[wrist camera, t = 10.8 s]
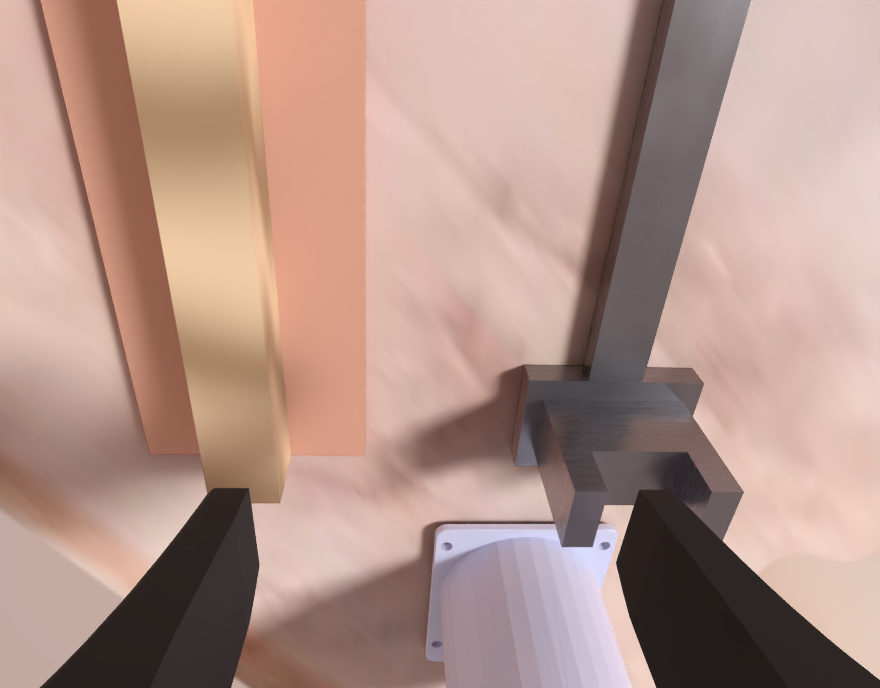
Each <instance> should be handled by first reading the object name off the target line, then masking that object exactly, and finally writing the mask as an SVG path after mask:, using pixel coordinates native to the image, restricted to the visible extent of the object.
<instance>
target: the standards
mask: <svg viewBox="0 0 880 688" xmlns="http://www.w3.org/2000/svg"><path fill="white" fill-rule="evenodd" d="M750 1H751V0H663V5H662V9H661V14H660V18H659V23H658V28H657V32H656V37H655V41H654V46H653V50H652V55H651V59H650V64H649V69H648V73H647V78H646V82H645V87H644V91H643V96H642V100H641V105H640V110H639V114H638V119H637V123H636V128H635V132H634V137H633V141H632V146H631V151H630V155H629V160H628V164H627V169H626V173H625V178H624V182H623V187H622V192H621V196H620V201H619V205H618V210H617V214H616V219H615V223H614V228H613V233H612V237H611V242H610V246H609V251H608V255H607V260H606V264H605V269H604V274H603V278H602V283H601V287H600V292H599V296H598V301H597V305H596V310H595V315H594V319H593V324H592V328H591V333H590V337H589V342H588V346H587V351H586V355H585V360H584V365H583V366H553V365H524V371H523V378H522V384H521V390H520V396H519V403H518V409H517V415H516V421H515V428H514V434H513V440H512V446H511V450H512V454H513V459H514V463H515V466H538V468H539V471H540V474H541V478H542V481H543V485H544V488H545V492H546V495H547V499H548V502H549V506H550V509H551V513H552V516H553V519H554V523H555V526H556V530H557V533H558V537H559V540H560V544H561V547H593V544H594V540H595V537H596V533H597V530H598V526H599V522H600V519H601V515H602V512H603V508H604V505H635V501H636V498H637V495H638V492H639V490H671V491H672V492H673V493H674V494H676V495H677V496H678V497H679V498H680V499H681V500H682V501H683V502H684V503H685V504H686V505H687V506H688V507H689V508H690V509H691V510H692V511H693V512H694V513H695V514H696V515H697V516H698V517H699V518H700V519H701V520H702V521H703V522H704V523H705V524H706V525H707V526H708V527H709V528H710V529H711V530H712V531H713V532H714V533H715V534H716V535H717V536H718V537H719V538H720V539H721V540H722V541H723V538H724V536H725V534H726V532H727V529H728V527H729V525H730V522H731V520H732V518H733V516H734V513H735V511H736V509H737V506H738V504H739V502H740V500H741V497H742V495H743V493H744V492H743V490H742V489H741V487H740V486H739V484H738V483H737V481H736V480H735V478H734V477H733V475H732V474H731V473H730V471H729V470H728V468H727V467H726V465H725V464H724V462H723V461H722V459H721V458H720V456H719V455H718V453H717V452H716V450H715V449H714V447H713V446H712V445H711V443H710V442H709V440H708V439H707V437H706V436H705V434H704V433H703V431H702V430H701V428H700V427H699V425H698V424H697V422H696V421H695V420H694V418H693V414H694V411H695V408H696V405H697V402H698V400H699V397H700V394H701V391H702V388H703V385H704V383H703V382H702V380H701V379H700V378H699V376H698V375H697V374H696V372H695V371H694V370H693V369H692V368H648V367H647V364H648V360H649V357H650V353H651V350H652V346H653V343H654V339H655V336H656V332H657V329H658V325H659V322H660V318H661V315H662V311H663V308H664V304H665V301H666V297H667V293H668V290H669V286H670V283H671V279H672V276H673V272H674V269H675V265H676V262H677V258H678V255H679V251H680V248H681V244H682V241H683V237H684V234H685V230H686V227H687V223H688V220H689V216H690V213H691V209H692V205H693V202H694V198H695V195H696V191H697V188H698V184H699V181H700V177H701V174H702V170H703V167H704V163H705V160H706V156H707V153H708V149H709V146H710V142H711V139H712V135H713V132H714V128H715V125H716V121H717V117H718V114H719V110H720V107H721V103H722V100H723V96H724V93H725V89H726V86H727V82H728V79H729V75H730V72H731V68H732V65H733V61H734V58H735V54H736V51H737V47H738V44H739V40H740V37H741V33H742V29H743V26H744V22H745V19H746V15H747V12H748V8H749V5H750Z"/></svg>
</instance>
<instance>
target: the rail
mask: <svg viewBox="0 0 880 688" xmlns="http://www.w3.org/2000/svg"><path fill="white" fill-rule="evenodd" d="M117 5H118V10H119V16H120V21H121V26H122V32H123V37H124V43H125V48H126V54H127V59H128V65H129V70H130V75H131V81H132V86H133V92H134V97H135V103H136V108H137V113H138V119H139V124H140V130H141V135H142V141H143V146H144V151H145V157H146V162H147V168H148V173H149V179H150V184H151V190H152V195H153V200H154V206H155V211H156V217H157V222H158V228H159V233H160V238H161V244H162V249H163V255H164V260H165V266H166V271H167V277H168V282H169V287H170V293H171V298H172V304H173V309H174V315H175V320H176V325H177V331H178V336H179V342H180V347H181V353H182V358H183V364H184V369H185V374H186V380H187V385H188V391H189V396H190V402H191V407H192V412H193V418H194V423H195V429H196V434H197V440H198V445H199V451H200V456H201V461H202V467H203V472H204V478H205V483H206V489H207V494H208V493H209V492H210V491H211V490H212V489H214V488H249V492H250V499H251V503H280V502H281V497H282V493H283V488H284V484H285V480H286V475H287V471H288V467H289V462H290V458H291V454H290V442H289V430H288V418H287V406H286V394H285V382H284V370H283V358H282V346H281V334H280V322H279V310H278V298H277V286H276V274H275V262H274V250H273V238H272V226H271V214H270V202H269V190H268V178H267V166H266V155H265V143H264V131H263V119H262V107H261V95H260V83H259V71H258V59H257V47H256V35H255V23H254V11H253V0H117Z"/></svg>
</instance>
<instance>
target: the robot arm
mask: <svg viewBox="0 0 880 688" xmlns="http://www.w3.org/2000/svg"><path fill="white" fill-rule="evenodd" d="M617 538H618V534H617V531H616V529H615V527H614V526H613V525H611V524H599V526H598V530H597V533H596V537H595V540H594V544H593V547H561V544H560V540H559V537H558V533H557V530H556V526H555V524H444V525H441V526H439V527H438V528H437V529H436V531H435V540H434V552H433V564H432V576H431V588H430V600H429V612H428V624H427V636H426V648H425V655H426V658H427V659H428V660H429V661H432V662H444V666H445V681H446V688H632V685H631V682H630V679H629V676H628V673H627V670H626V667H625V664H624V661H623V658H622V655H621V652H620V649H619V646H618V643H617V640H616V637H615V634H614V631H613V628H612V625H611V622H610V619H609V616H608V613H607V610H606V607H605V604H604V600H603V597H602V594H601V590H602V586H603V583H604V580H605V577H606V573H607V570H608V567H609V564H610V560H611V557H612V554H613V551H614V547H615V544H616V541H617ZM446 542H448V543H446ZM602 542H603V543H602ZM445 543H446V544H445ZM616 565H617V569H618V573H619V577H620V581H621V586H622V590H623V594H624V598H625V601H626V605H627V609H628V613H629V616H630V619H631V622H632V625H633V627H634V630H635V633H636V635H637V638H638V641H639V643H640V646H641V649H642V651H643V654H644V656H645V659H646V662H647V664H648V667H649V669H650V672H651V675H652V677H653V680H654V682H655V685H656V688H880V680H879V679H877V678H876V677H875V676H873V674H871V673H870V672H869V671H868V670H866V669H865V668H864V667H862V666H861V665H860V664H859V663H857V662H856V661H855V660H853V659H852V658H851V657H849V656H848V655H847V654H846V653H845V652H843V651H842V650H841V649H840V648H839V647H837V646H836V645H835V644H834V643H833V642H831V641H830V640H829V639H828V638H826V637H825V636H824V635H823V634H822V633H821V632H820V631H819V630H817V629H816V628H815V627H814V626H813V625H812V624H811V623H809V622H808V621H807V620H806V619H805V618H804V617H803V616H801V615H800V614H799V613H798V612H797V611H796V610H795V609H793V608H792V607H791V606H790V605H789V604H788V603H787V602H786V601H785V600H783V599H782V598H781V597H780V596H779V595H778V594H777V593H776V592H775V591H774V590H773V589H771V588H770V587H769V586H768V585H767V584H766V583H765V582H764V581H763V580H762V579H761V578H760V577H759V576H758V575H757V574H756V573H755V572H754V571H752V570H751V569H750V568H749V567H748V566H747V565H746V564H745V563H744V562H743V561H742V560H741V559H740V558H739V557H738V556H737V555H736V554H735V553H734V552H733V551H732V550H731V549H730V548H729V547H728V546H727V545H726V544H725V543H724V542H723V541H722V540H721V539H720V538H719V537H718V536H717V535H716V534H715V533H714V532H713V531H712V530H711V529H710V528H709V527H708V526H707V525H706V524H705V523H704V522H703V521H702V520H701V519H700V518H699V517H698V516H697V515H696V514H695V513H694V512H693V511H692V510H691V509H690V508H689V507H688V506H687V505H686V504H685V503H684V502H683V501H682V500H681V499H680V498H679V497H678V496H677V495H676V494H674V493H673V492H672V491H671V490H639V492H638V495H637V498H636V501H635V505H634V508H633V511H632V514H631V517H630V520H629V524H628V527H627V530H626V533H625V536H624V539H623V543H622V546H621V549H620V552H619V555H618V558H617V562H616ZM258 571H259V558H258V551H257V543H256V536H255V529H254V521H253V514H252V506H251V499H250V492H249V488H214V489H212V490H211V491H210V492H209V493H208V494H207V495H206V497H205V498H204V500H203V501H202V502H201V504H200V505H199V506H198V508H197V509H196V510H195V512H194V513H193V514H192V516H191V517H190V518H189V520H188V521H187V522H186V524H185V525H184V526H183V528H182V529H181V530H180V532H179V533H178V534H177V536H176V537H175V538H174V539H173V541H172V542H171V543H170V544H169V546H168V547H167V548H166V550H165V551H164V552H163V553H162V555H161V556H160V557H159V558H158V559H157V561H156V562H155V563H154V564H153V565H152V567H151V568H150V569H149V570H148V571H147V573H146V574H145V575H144V576H143V577H142V579H141V580H140V581H139V582H138V583H137V585H136V586H135V587H134V588H133V589H132V591H131V592H130V593H129V594H128V595H127V596H126V598H125V599H124V600H123V601H122V602H121V603H120V604H119V605H118V606H117V608H116V609H115V610H114V611H113V612H112V613H111V614H110V615H109V616H108V618H107V619H106V620H105V621H104V622H103V623H102V624H101V625H100V626H99V627H98V629H97V630H96V631H95V632H94V633H93V634H92V635H91V636H90V637H89V638H88V640H87V641H86V642H85V643H84V644H83V645H82V646H81V647H80V648H79V649H78V650H77V651H76V652H75V653H74V654H73V655H72V656H71V657H70V658H69V659H68V660H67V661H66V662H65V663H64V664H63V665H62V666H61V668H59V669H58V670H57V672H56V673H55V674H54V675H52V676H51V677H50V678H49V679H48V680H47V682H45V683H44V684H43V685H42V686H41V687H40V688H231V685H232V682H233V679H234V675H235V672H236V668H237V665H238V661H239V658H240V654H241V651H242V647H243V644H244V640H245V637H246V633H247V630H248V626H249V622H250V617H251V612H252V606H253V601H254V595H255V589H256V583H257V577H258Z"/></svg>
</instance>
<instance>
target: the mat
mask: <svg viewBox="0 0 880 688" xmlns="http://www.w3.org/2000/svg"><path fill="white" fill-rule="evenodd" d="M40 1H41V5H42V9H43V13H44V17H45V21H46V26H47V30H48V34H49V38H50V42H51V46H52V50H53V55H54V59H55V63H56V67H57V71H58V75H59V80H60V84H61V88H62V92H63V96H64V100H65V104H66V109H67V113H68V117H69V121H70V125H71V129H72V134H73V138H74V142H75V146H76V150H77V154H78V158H79V163H80V167H81V171H82V175H83V179H84V183H85V188H86V192H87V196H88V200H89V204H90V208H91V212H92V217H93V221H94V225H95V229H96V233H97V237H98V242H99V246H100V250H101V254H102V258H103V262H104V266H105V271H106V275H107V279H108V283H109V287H110V291H111V296H112V300H113V304H114V308H115V312H116V316H117V320H118V325H119V329H120V333H121V337H122V341H123V345H124V350H125V354H126V358H127V362H128V366H129V370H130V374H131V379H132V383H133V387H134V391H135V395H136V399H137V404H138V408H139V412H140V416H141V420H142V424H143V428H144V433H145V437H146V441H147V445H148V449H149V453H150V454H187V455H200V451H199V445H198V440H197V434H196V429H195V423H194V418H193V412H192V407H191V402H190V396H189V391H188V385H187V380H186V374H185V369H184V364H183V358H182V353H181V347H180V342H179V336H178V331H177V325H176V320H175V315H174V309H173V304H172V298H171V293H170V287H169V282H168V277H167V271H166V266H165V260H164V255H163V249H162V244H161V238H160V233H159V228H158V222H157V217H156V211H155V206H154V200H153V195H152V190H151V184H150V179H149V173H148V168H147V162H146V157H145V151H144V146H143V141H142V135H141V130H140V124H139V119H138V113H137V108H136V103H135V97H134V92H133V86H132V81H131V75H130V70H129V65H128V59H127V54H126V48H125V43H124V37H123V32H122V26H121V21H120V16H119V10H118V5H117V0H40ZM253 11H254V23H255V35H256V47H257V59H258V71H259V83H260V95H261V107H262V119H263V131H264V143H265V155H266V166H267V178H268V190H269V202H270V214H271V226H272V238H273V250H274V262H275V274H276V286H277V298H278V310H279V322H280V334H281V346H282V358H283V370H284V382H285V394H286V406H287V418H288V430H289V442H290V454H291V455H307V456H365V0H253Z"/></svg>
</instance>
